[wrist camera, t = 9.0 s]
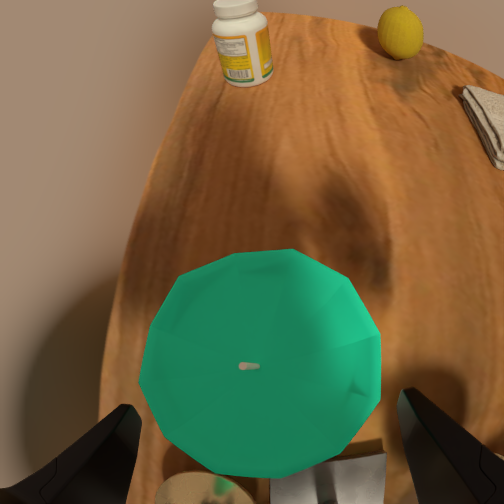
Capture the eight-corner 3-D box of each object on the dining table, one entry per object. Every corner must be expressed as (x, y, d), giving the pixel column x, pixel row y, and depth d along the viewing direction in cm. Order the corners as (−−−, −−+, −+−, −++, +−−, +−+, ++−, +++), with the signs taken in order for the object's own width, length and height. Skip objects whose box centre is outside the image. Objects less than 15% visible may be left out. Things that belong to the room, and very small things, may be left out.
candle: (344, 330, 16) (430, 255, 5) (312, 428, 14) (340, 537, 3) (247, 303, 18) (166, 191, 7) (214, 396, 16) (76, 429, 5)
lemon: (365, 53, 28) (369, -2, 20) (393, 46, 28) (400, -3, 21) (398, 75, 26) (409, 16, 18) (425, 67, 26) (437, 15, 19)
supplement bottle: (235, 94, 27) (214, 13, 18) (218, 73, 29) (198, 2, 20) (283, 78, 27) (273, -1, 18) (261, 58, 29) (249, -11, 20)
